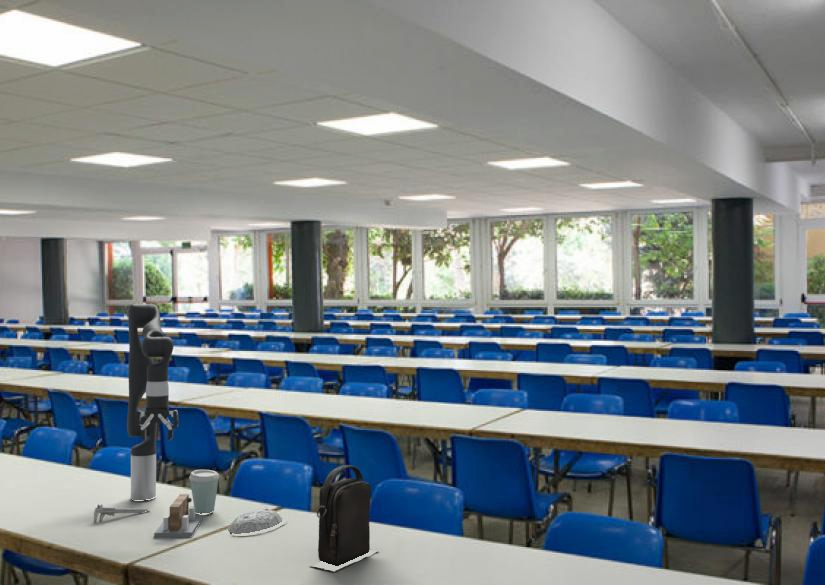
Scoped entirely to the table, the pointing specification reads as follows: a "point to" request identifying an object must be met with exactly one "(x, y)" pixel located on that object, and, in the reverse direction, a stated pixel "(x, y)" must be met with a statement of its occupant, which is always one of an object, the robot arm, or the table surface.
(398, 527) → the table surface
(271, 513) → the oval brooch
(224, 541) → the table surface
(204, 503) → the disposable coffee cup
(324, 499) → the shoulder bag
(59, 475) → the table surface
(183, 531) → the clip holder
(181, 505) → the cabinet door
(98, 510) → the caliper
